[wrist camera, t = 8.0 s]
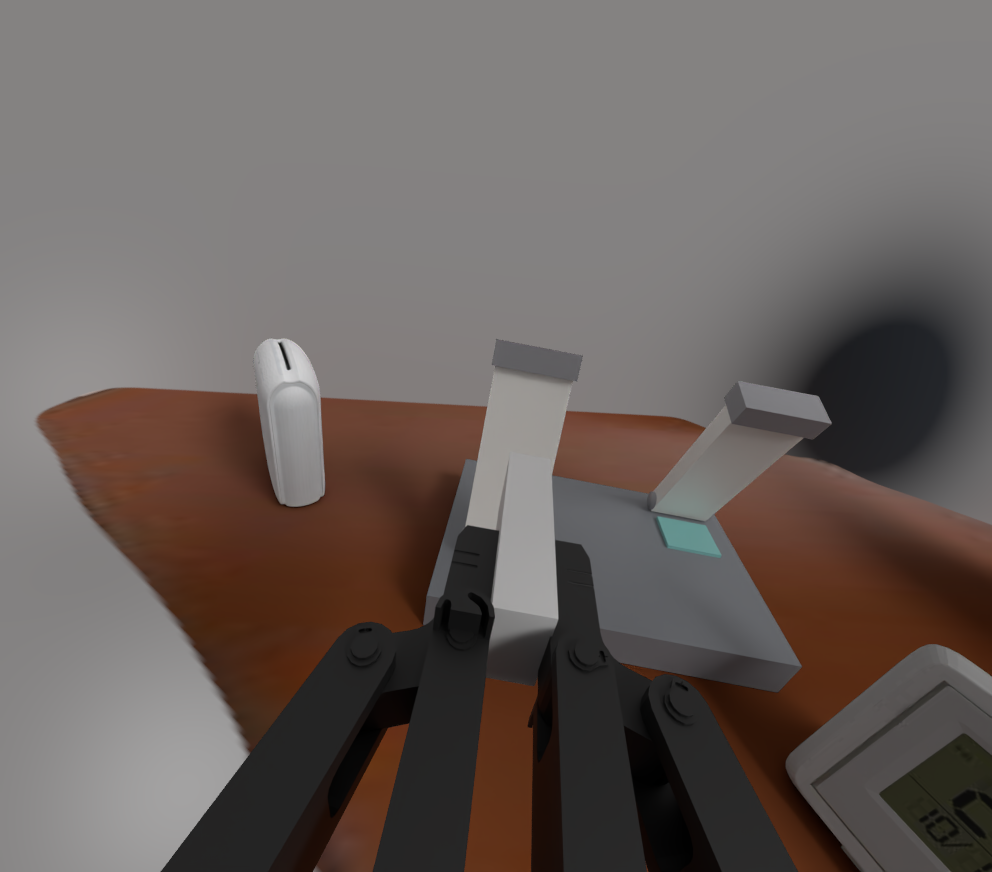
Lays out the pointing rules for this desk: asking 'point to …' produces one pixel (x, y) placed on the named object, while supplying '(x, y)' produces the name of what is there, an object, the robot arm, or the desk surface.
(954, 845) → the digital clock
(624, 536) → the switch unit
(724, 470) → the lever
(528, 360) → the lever
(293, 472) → the photo printer
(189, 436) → the desk surface
